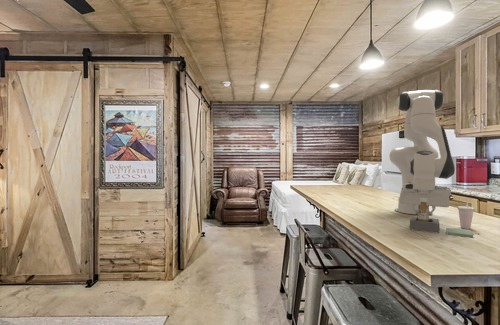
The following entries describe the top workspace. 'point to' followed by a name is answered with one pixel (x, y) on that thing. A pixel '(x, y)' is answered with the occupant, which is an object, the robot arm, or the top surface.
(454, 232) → the rubber mat
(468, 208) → the smoothie
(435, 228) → the socket block
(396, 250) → the top surface
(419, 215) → the sprinkles bottle
